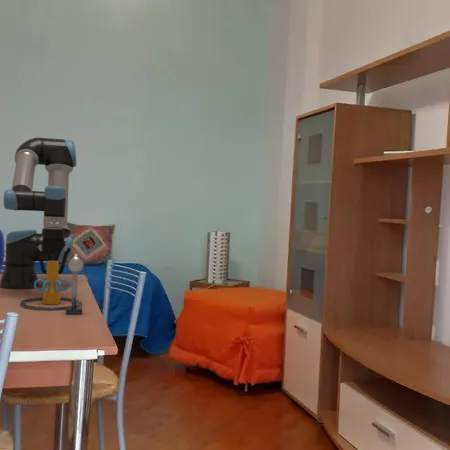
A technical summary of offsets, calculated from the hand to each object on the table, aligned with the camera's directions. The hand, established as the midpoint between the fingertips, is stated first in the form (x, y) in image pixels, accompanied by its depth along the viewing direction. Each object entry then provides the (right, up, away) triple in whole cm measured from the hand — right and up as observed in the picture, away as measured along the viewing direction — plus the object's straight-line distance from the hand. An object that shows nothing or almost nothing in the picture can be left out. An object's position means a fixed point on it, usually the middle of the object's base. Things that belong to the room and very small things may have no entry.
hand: (51, 292), depth 208 cm
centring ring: (+3, -3, -10) cm, 11 cm away
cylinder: (+2, -3, -7) cm, 8 cm away
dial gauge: (+14, -4, -20) cm, 25 cm away
